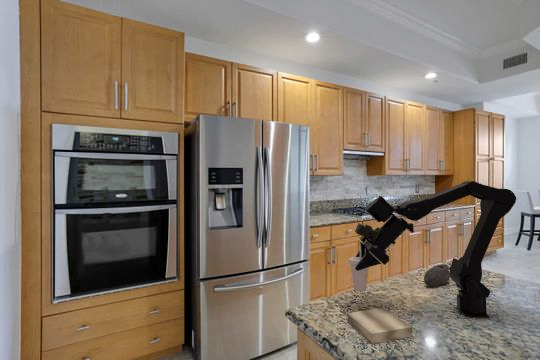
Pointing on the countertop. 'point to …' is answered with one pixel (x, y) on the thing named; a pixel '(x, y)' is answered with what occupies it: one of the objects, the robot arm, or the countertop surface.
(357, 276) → the smoothie
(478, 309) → the robot arm
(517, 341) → the countertop surface
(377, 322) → the plinth
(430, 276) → the perforated stone tool
